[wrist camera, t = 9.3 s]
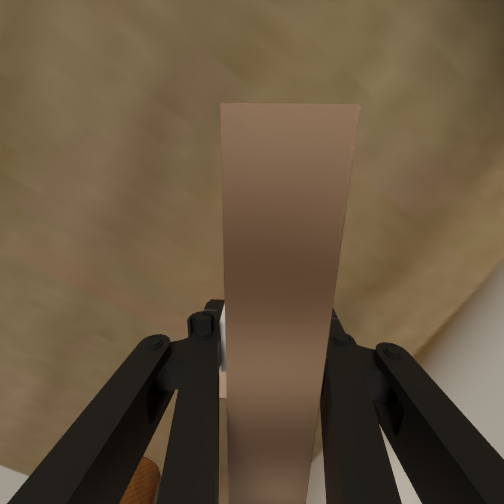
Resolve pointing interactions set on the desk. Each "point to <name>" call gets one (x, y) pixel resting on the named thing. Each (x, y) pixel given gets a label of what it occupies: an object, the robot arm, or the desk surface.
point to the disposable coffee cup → (142, 484)
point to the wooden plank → (280, 284)
